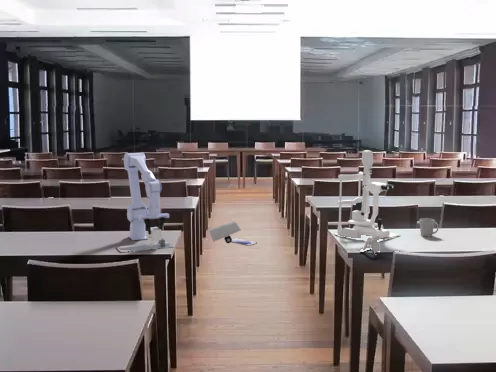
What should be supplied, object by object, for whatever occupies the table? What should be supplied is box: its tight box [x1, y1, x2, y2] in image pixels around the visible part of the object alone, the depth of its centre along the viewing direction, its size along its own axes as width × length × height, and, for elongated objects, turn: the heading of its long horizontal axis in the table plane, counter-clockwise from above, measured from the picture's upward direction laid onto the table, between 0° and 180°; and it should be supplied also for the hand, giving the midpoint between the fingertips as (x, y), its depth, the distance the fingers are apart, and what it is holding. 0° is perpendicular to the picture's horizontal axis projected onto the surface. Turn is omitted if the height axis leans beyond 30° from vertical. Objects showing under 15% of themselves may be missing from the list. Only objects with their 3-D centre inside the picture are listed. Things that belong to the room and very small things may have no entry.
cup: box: [419, 217, 439, 237], centre depth 308 cm, size 8×10×8 cm
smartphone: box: [231, 237, 258, 247], centre depth 295 cm, size 7×1×15 cm
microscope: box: [333, 149, 401, 240], centre depth 306 cm, size 24×27×45 cm
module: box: [147, 226, 162, 242], centre depth 285 cm, size 7×4×5 cm, turn 25°
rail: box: [118, 237, 175, 252], centre depth 284 cm, size 10×26×3 cm, turn 115°
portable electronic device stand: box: [358, 235, 382, 256], centre depth 275 cm, size 9×8×8 cm
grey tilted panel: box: [208, 221, 242, 244], centre depth 294 cm, size 4×10×15 cm
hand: (154, 233), depth 285 cm, fingers closed on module, 4 cm apart
